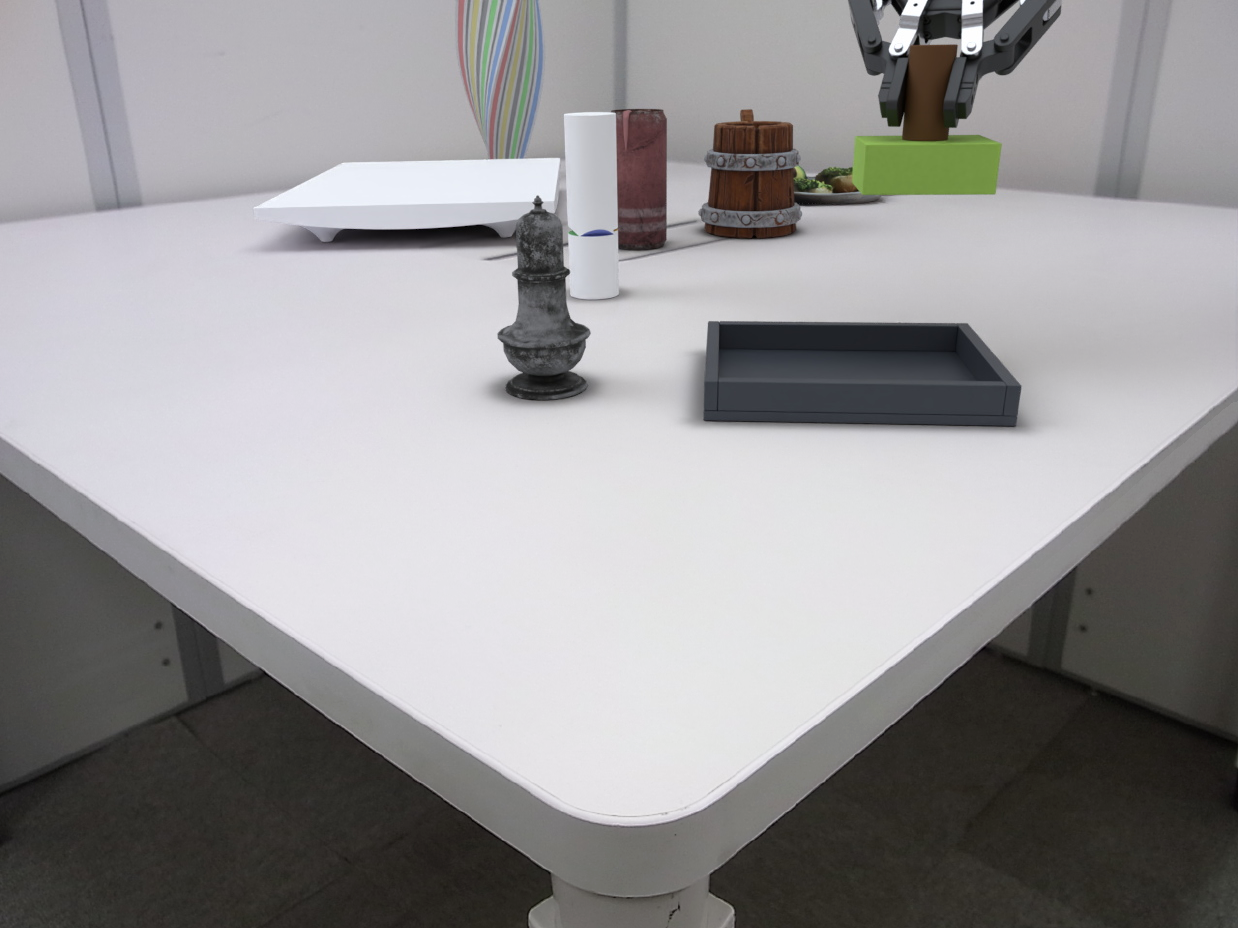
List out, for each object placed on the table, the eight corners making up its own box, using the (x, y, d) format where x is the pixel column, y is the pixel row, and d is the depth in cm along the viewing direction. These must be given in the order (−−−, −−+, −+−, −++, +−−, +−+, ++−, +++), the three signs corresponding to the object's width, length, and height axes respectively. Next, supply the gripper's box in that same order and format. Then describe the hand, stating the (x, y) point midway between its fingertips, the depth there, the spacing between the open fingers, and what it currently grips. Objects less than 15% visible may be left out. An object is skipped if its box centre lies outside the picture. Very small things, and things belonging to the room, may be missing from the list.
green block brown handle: (974, 182, 67) (990, 43, 64) (995, 194, 62) (1014, 43, 58) (851, 182, 68) (861, 46, 65) (862, 195, 62) (872, 46, 59)
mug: (701, 238, 111) (702, 95, 108) (694, 238, 125) (695, 111, 122) (808, 237, 111) (812, 93, 107) (789, 237, 125) (792, 110, 121)
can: (603, 250, 108) (600, 111, 102) (617, 239, 113) (615, 107, 108) (659, 251, 106) (659, 111, 101) (671, 240, 112) (671, 107, 107)
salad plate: (885, 187, 149) (888, 154, 148) (912, 204, 133) (916, 168, 131) (754, 188, 150) (755, 156, 149) (765, 206, 134) (766, 170, 132)
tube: (587, 286, 92) (582, 111, 86) (627, 291, 89) (625, 112, 84) (560, 296, 88) (553, 115, 82) (602, 301, 86) (598, 116, 80)
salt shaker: (481, 387, 65) (468, 196, 60) (550, 367, 69) (543, 186, 64) (541, 408, 61) (531, 205, 56) (611, 385, 65) (607, 194, 60)
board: (556, 245, 110) (554, 201, 109) (259, 252, 110) (252, 208, 108) (561, 190, 152) (560, 157, 150) (346, 195, 151) (342, 162, 149)
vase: (555, 174, 171) (547, -22, 159) (542, 184, 159) (532, -27, 147) (477, 174, 172) (463, -20, 161) (457, 185, 160) (441, -25, 148)
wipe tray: (963, 357, 69) (968, 323, 68) (1016, 426, 57) (1022, 385, 56) (707, 354, 71) (708, 320, 70) (703, 420, 59) (704, 381, 58)
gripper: (862, -132, 66) (798, 73, 61) (1094, -153, 61) (1047, 72, 55) (874, -38, 73) (817, 156, 67) (1085, -48, 67) (1042, 162, 62)
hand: (921, 117), depth 61 cm, fingers closed on green block brown handle, 3 cm apart
